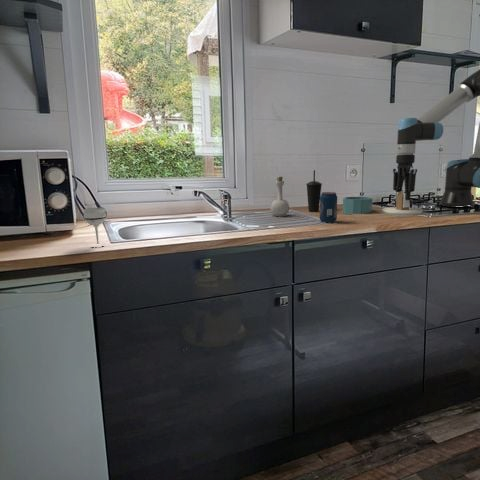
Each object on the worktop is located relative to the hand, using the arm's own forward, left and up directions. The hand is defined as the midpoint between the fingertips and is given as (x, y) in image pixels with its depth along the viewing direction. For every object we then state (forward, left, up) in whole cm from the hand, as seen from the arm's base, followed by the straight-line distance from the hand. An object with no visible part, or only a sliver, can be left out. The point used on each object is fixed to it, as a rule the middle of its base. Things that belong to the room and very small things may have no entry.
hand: (402, 206), depth 176 cm
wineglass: (+130, +21, -3) cm, 132 cm away
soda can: (+41, +7, -3) cm, 42 cm away
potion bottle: (+53, -17, -3) cm, 56 cm away
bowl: (+17, -10, -3) cm, 20 cm away
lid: (0, 0, -3) cm, 3 cm away
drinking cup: (+33, -23, -3) cm, 40 cm away
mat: (0, 0, -3) cm, 3 cm away
